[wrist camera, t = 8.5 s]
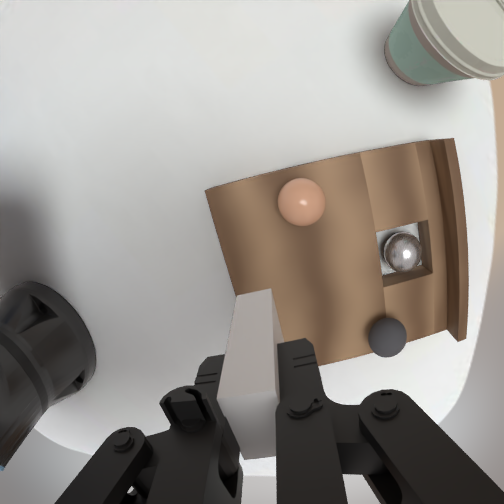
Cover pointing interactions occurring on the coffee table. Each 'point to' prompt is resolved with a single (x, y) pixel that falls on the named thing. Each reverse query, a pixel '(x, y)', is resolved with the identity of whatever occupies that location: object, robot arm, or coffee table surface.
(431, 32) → the coffee cup
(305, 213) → the clay ball
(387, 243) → the steel ball
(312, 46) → the coffee table surface
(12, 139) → the coffee table surface
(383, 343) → the black ball
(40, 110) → the coffee table surface
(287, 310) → the wooden board
